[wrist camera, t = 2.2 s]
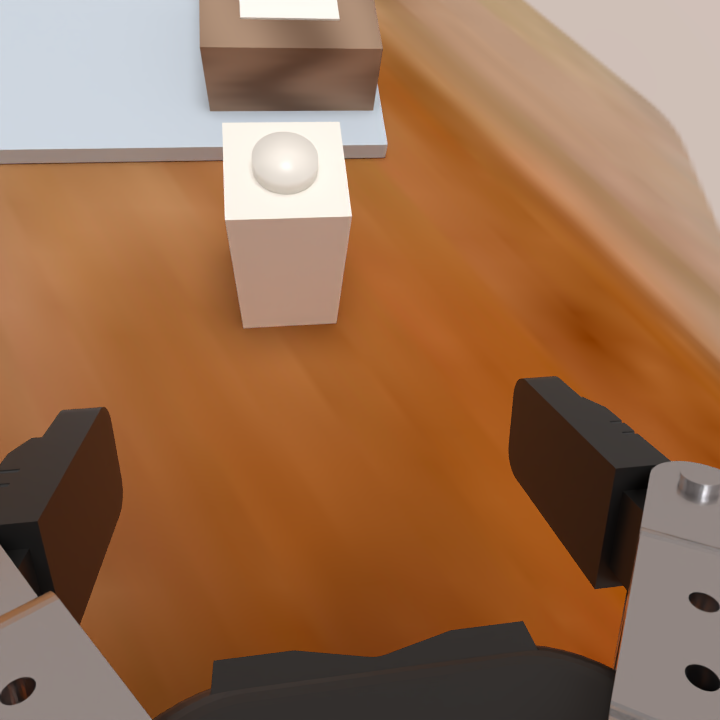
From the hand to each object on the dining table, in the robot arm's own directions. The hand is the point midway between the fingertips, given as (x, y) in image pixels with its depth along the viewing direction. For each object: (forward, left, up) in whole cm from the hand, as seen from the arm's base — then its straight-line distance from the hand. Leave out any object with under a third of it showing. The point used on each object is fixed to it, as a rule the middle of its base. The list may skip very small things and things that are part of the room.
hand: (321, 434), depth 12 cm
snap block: (0, +12, -15) cm, 19 cm away
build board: (-5, +30, -15) cm, 34 cm away
